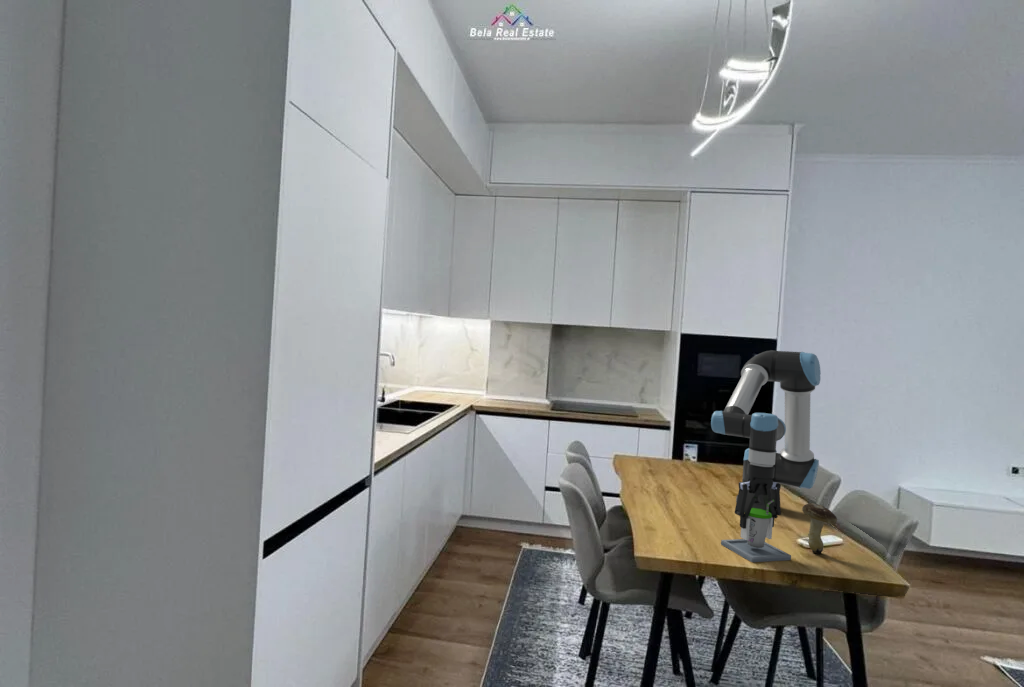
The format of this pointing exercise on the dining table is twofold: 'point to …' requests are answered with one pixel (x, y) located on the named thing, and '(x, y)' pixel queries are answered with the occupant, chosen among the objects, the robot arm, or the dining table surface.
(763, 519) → the cup
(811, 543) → the mushroom
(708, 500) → the dining table surface
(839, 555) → the dining table surface
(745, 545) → the tray
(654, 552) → the dining table surface
